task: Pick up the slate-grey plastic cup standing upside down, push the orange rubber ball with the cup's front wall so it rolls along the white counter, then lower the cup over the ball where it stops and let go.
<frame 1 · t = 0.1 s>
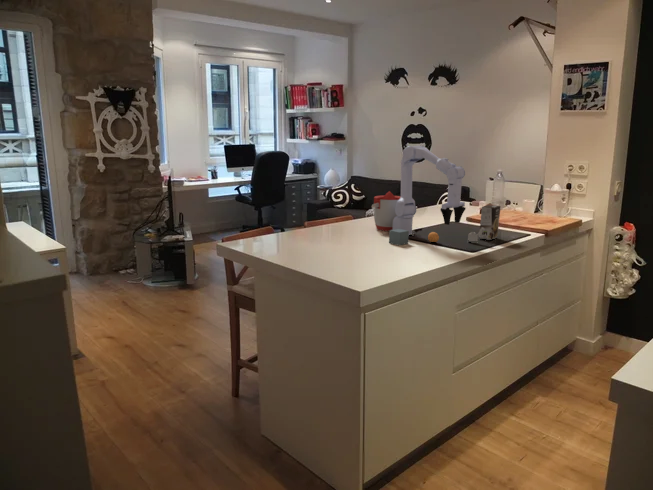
hand: (452, 223, 233), 10 cm above the countertop, tool pointing down, fingers open, 7 cm apart
citrus juicer: (386, 229, 269), on the countertop
ball: (433, 237, 238), on the countertop
coffee box: (488, 239, 250), on the countertop
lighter: (475, 243, 239), on the countertop
cup: (398, 243, 237), on the countertop
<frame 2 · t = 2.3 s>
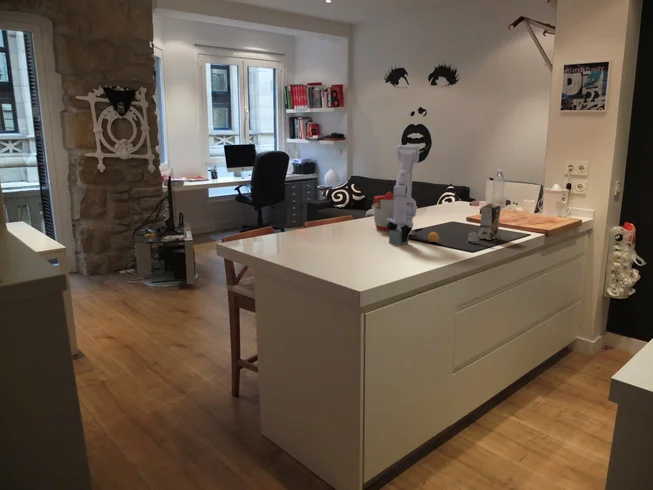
hand: (398, 240, 236), 1 cm above the countertop, tool pointing down, fingers closed on cup, 6 cm apart
cup: (398, 243, 237), on the countertop, touching gripper
everything else where it was.
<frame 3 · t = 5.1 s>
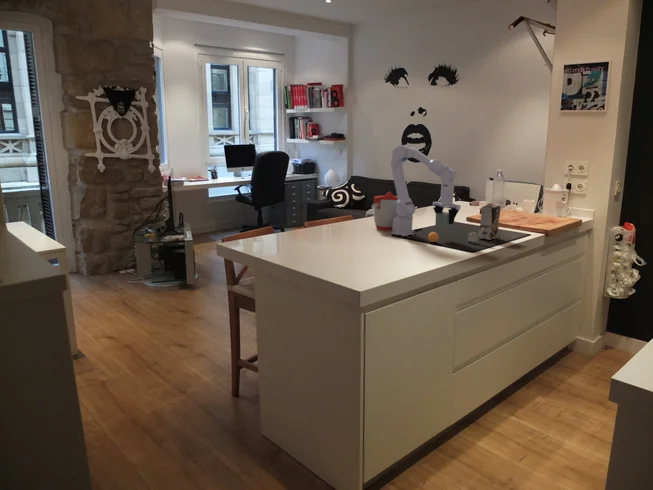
hand: (445, 222, 243), 8 cm above the countertop, tool pointing down, fingers closed on cup, 6 cm apart
cup: (444, 226, 243), point 7 cm above the countertop, touching gripper
everything else where it was.
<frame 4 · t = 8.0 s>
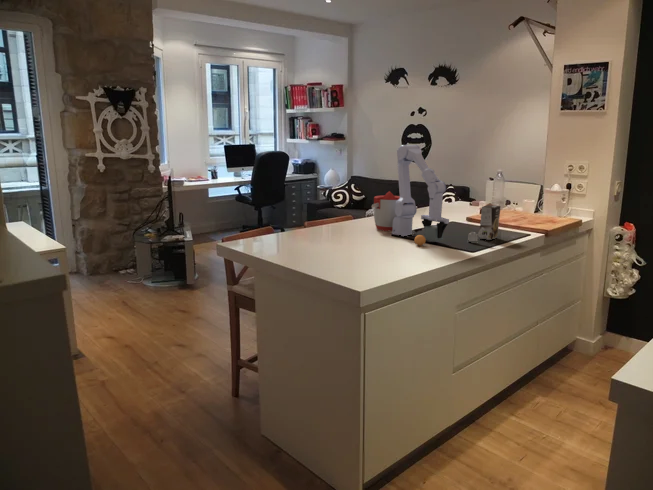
hand: (433, 236, 238), 3 cm above the countertop, tool pointing down, fingers closed on cup, 6 cm apart
ball: (420, 240, 232), on the countertop
cup: (433, 239, 239), point 2 cm above the countertop, touching gripper
everything else where it was.
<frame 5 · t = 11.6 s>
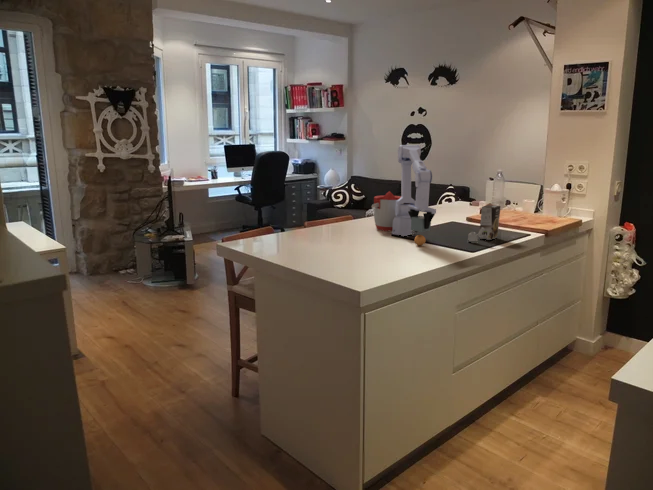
hand: (420, 227, 231), 8 cm above the countertop, tool pointing down, fingers closed on cup, 6 cm apart
cup: (420, 230, 231), point 7 cm above the countertop, touching gripper
everything else where it was.
when the fingers open (2 cm above the countertop, at t = 14.7 s): cup stays where it is, on the countertop.
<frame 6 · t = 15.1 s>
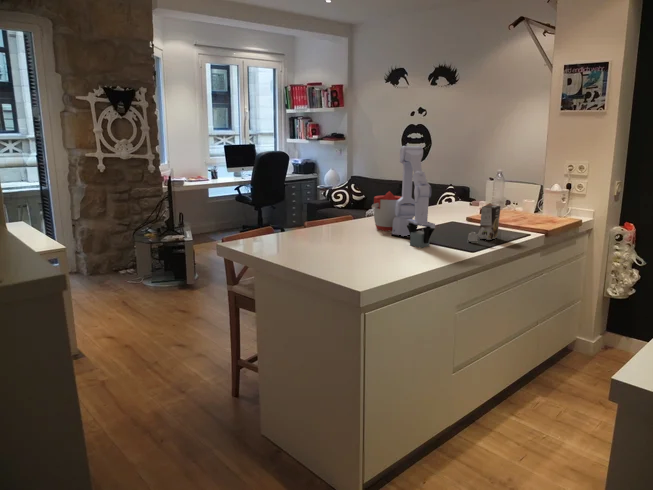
hand: (419, 241, 232), 2 cm above the countertop, tool pointing down, fingers open, 7 cm apart
cup: (419, 245, 233), on the countertop
everything else where it was.
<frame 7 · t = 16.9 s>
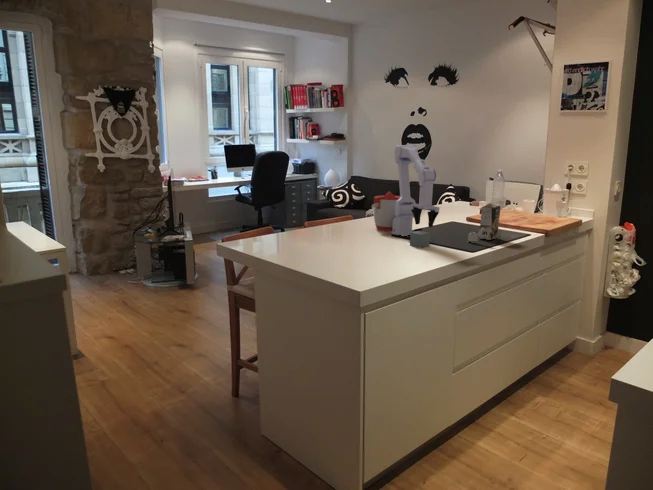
hand: (423, 225, 235), 9 cm above the countertop, tool pointing down, fingers open, 7 cm apart
nothing on the countertop moved.
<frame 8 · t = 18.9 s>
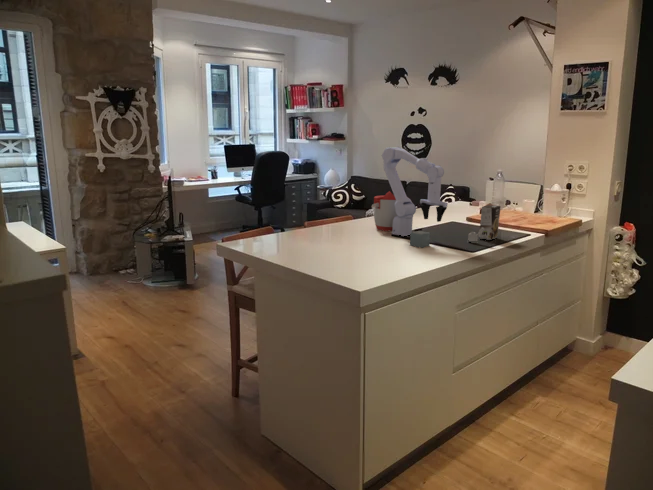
hand: (432, 220, 244), 9 cm above the countertop, tool pointing down, fingers open, 7 cm apart
nothing on the countertop moved.
at the end: ball 0.2 cm from the cup (horizontally); cup on the countertop; ball moved 9.9 cm from its start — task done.
